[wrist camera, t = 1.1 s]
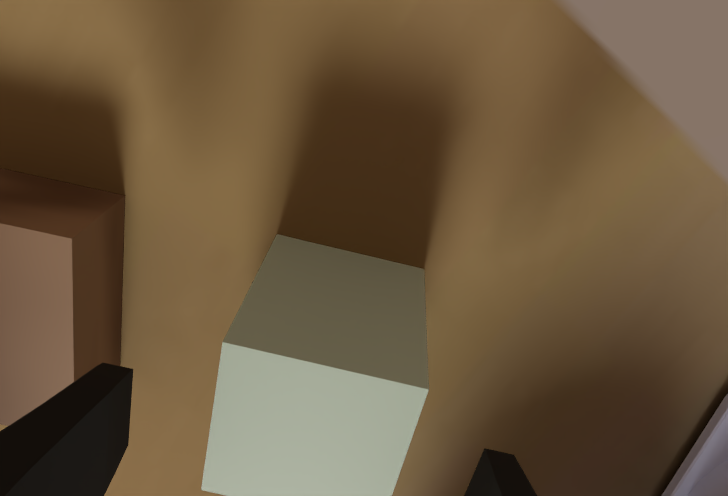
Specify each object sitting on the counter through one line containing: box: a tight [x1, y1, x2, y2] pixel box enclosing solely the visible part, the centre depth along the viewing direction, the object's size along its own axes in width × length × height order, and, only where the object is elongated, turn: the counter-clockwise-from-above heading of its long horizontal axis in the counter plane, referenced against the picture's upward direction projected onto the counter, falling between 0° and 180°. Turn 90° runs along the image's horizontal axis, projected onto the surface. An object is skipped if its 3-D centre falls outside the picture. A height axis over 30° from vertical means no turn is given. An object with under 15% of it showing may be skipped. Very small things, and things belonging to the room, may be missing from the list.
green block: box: [201, 234, 429, 496], centre depth 14 cm, size 4×4×5 cm
